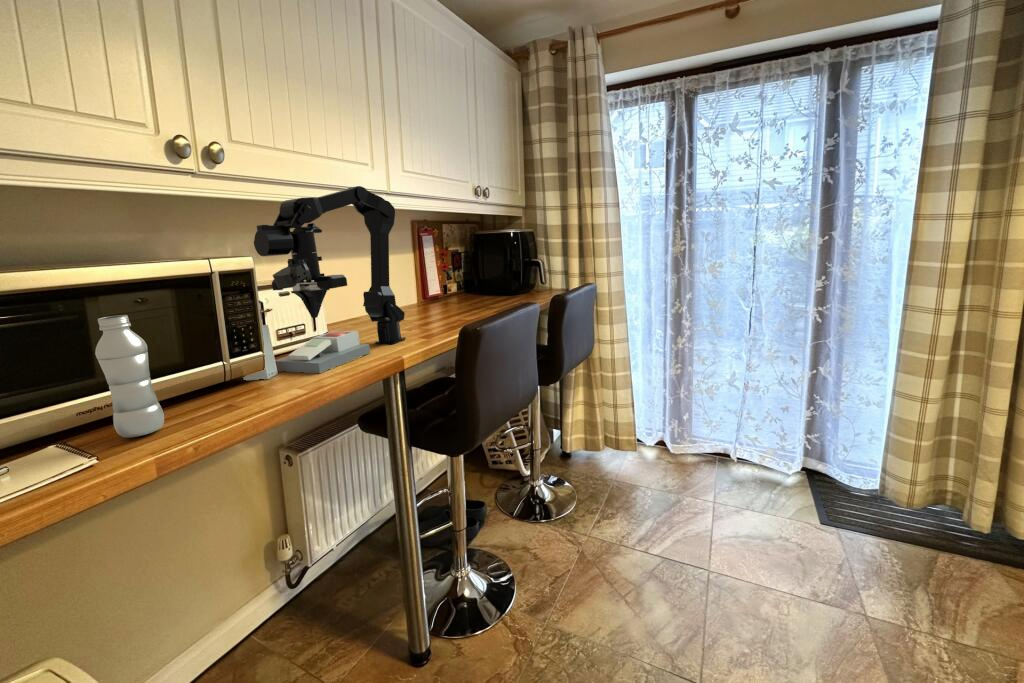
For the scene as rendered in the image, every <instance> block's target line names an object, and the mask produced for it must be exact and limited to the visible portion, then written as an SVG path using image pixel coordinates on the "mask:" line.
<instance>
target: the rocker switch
mask: <svg viewBox="0 0 1024 683" xmlns="http://www.w3.org/2000/svg"><path fill="white" fill-rule="evenodd" d="M329 345H331V341H330V340H322V339H309V340H308V341H306V342H305V343H303V344H302V345H301V346H300V347H298V348H297V349H295V350H294V351H292V352H291V353H289V354H288V356H289V358H290V359H291V360H310V359H312V358H313V357H314V356H316V355H317V354H319V353H320V352H321V351H323V350H324V349H325V348H327V347H328V346H329ZM288 356H287V357H288Z"/></svg>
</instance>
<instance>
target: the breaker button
mask: <svg viewBox="0 0 1024 683" xmlns="http://www.w3.org/2000/svg"><path fill="white" fill-rule="evenodd" d="M332 332H333V331H332ZM327 333H328V334H326V333H325V334H326V335H325V337H338V336H341V335H344V334H346V333H345V332H333V333H329V332H327Z"/></svg>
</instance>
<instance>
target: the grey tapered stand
mask: <svg viewBox="0 0 1024 683" xmlns="http://www.w3.org/2000/svg"><path fill="white" fill-rule="evenodd" d="M262 328H263V339H264V355H265V368H264V370H262V371H260V372H256V373H254V374H250V375H248V376H245V377H243V376H242V378H243V381H244V380H246V381H259V379H264V380H269V379H271V378H273V377H275V376H277V375H278V372H279V371H277V367H276V362H275V360H276V358H275V353H274V348H273V344H272V337H271V333H270V328H269V325H268V324H262Z"/></svg>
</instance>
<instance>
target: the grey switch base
mask: <svg viewBox="0 0 1024 683" xmlns="http://www.w3.org/2000/svg"><path fill="white" fill-rule="evenodd" d="M333 332H345V333H346V334H344V335H341V336H338V337H325V335H326V334H328V333H333ZM311 338H312V339H322V340H330V341H331V345H329V346H328V347H327V348H325V349H324V350H323V351H321V352H320V353H319V354H317V355H316V356H314V357H313V358H312V359H310V360H291V359H290V358H289V356H285V357H282V358H278V359H275V362H276V367H277V372H283V371H287V372H286V373H300V372H304V374H305V373H306V374H317V373H321V372H323V373H325V372H324V371H326V370H328V369H331V368H333V367H336V366H338V365H341V364H343V365H345V364H344V363H346V362H348V361H351V360H353V359H355V358H358V357H360V356H363V355H366V354H368V355H370V354H371V350H370V344H368V343H367V344H363V343H362V344H361V343H360V336H359V330H358V331H357V330H333V331H330V332H327V333H323V334H319V335H317V336H313V337H311ZM369 353H370V354H369ZM366 356H367V355H366ZM363 357H364V356H363ZM358 359H359V358H358ZM353 361H354V360H353ZM351 362H352V361H351ZM348 363H349V362H348ZM346 364H347V363H346ZM341 366H342V365H341ZM338 367H339V366H338ZM336 368H337V367H336ZM333 369H334V368H333ZM331 370H332V369H331ZM328 371H329V370H328ZM326 372H327V371H326ZM321 374H322V373H321Z"/></svg>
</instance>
